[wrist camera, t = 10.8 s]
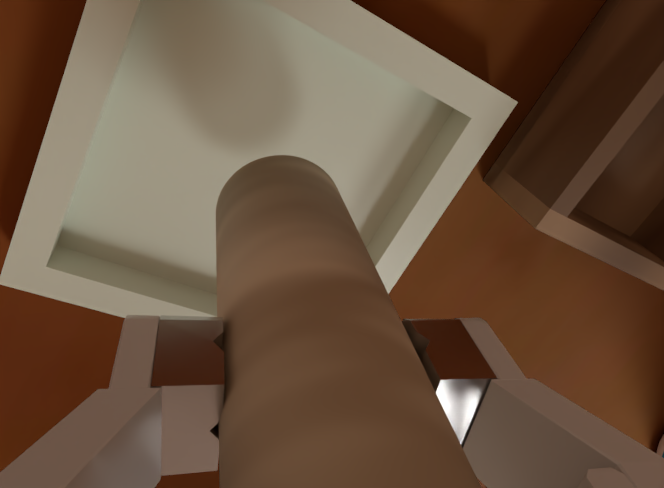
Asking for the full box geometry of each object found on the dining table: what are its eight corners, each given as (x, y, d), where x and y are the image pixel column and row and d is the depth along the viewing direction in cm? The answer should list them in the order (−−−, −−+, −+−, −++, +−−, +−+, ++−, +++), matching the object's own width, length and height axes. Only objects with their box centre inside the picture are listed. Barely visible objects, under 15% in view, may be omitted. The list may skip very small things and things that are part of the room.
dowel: (364, 185, 13) (619, 619, 5) (306, 282, 15) (433, 762, 6) (248, 133, 12) (333, 596, 4) (195, 243, 13) (168, 783, 5)
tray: (490, 85, 17) (518, 102, 15) (324, 341, 21) (334, 374, 19) (139, -127, 12) (128, -134, 11) (17, 250, 16) (-3, 283, 15)
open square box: (762, 81, 18) (867, 111, 16) (619, 249, 21) (685, 301, 18) (628, -32, 16) (726, -22, 13) (482, 180, 18) (535, 228, 15)
